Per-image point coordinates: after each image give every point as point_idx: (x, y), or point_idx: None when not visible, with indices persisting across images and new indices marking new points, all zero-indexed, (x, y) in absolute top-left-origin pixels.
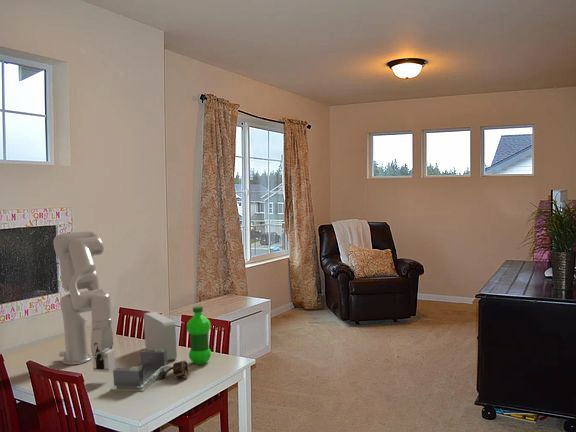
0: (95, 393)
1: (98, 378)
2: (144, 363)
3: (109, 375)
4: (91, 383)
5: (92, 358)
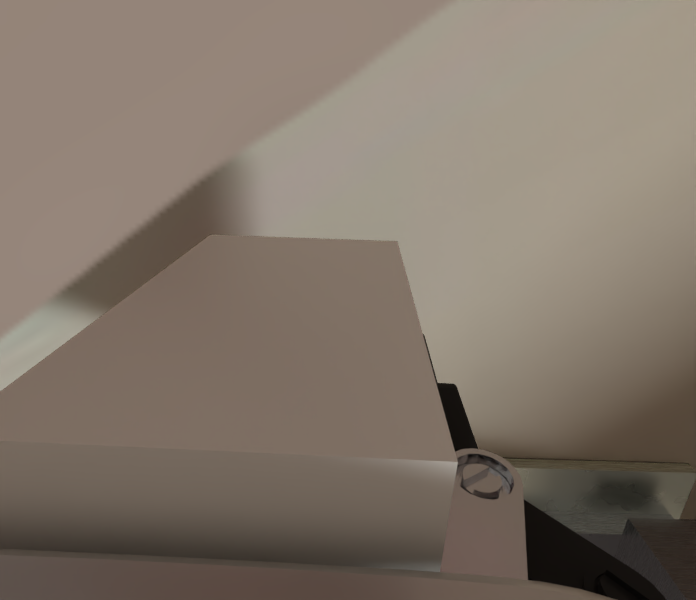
0: (14, 361)
1: (382, 188)
2: (630, 567)
3: (473, 268)
4: (230, 187)
5: (93, 323)
